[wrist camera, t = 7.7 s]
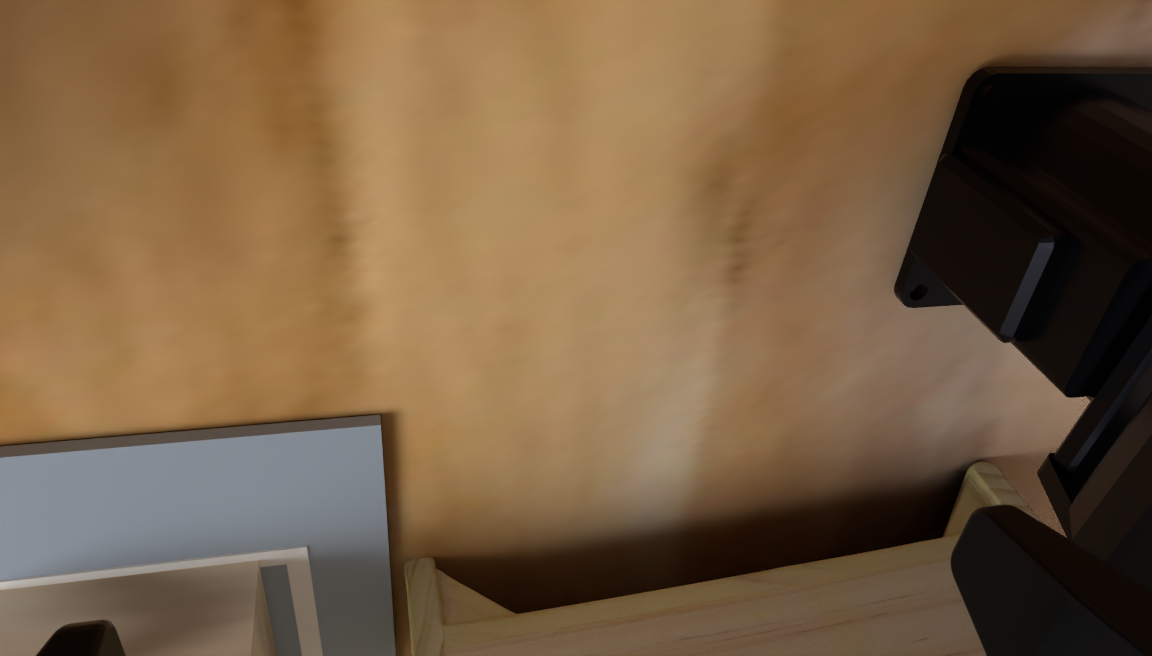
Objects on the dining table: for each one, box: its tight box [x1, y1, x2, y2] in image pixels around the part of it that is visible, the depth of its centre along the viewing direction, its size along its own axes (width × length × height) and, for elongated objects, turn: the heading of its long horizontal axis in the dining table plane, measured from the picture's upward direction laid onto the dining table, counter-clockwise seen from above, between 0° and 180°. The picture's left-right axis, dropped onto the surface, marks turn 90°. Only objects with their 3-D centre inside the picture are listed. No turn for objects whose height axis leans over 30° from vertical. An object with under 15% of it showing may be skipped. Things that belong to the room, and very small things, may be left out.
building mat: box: [0, 415, 396, 656], centre depth 25 cm, size 14×14×1 cm
